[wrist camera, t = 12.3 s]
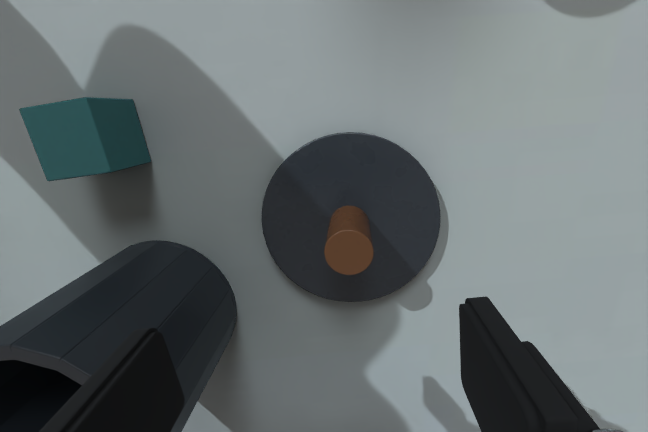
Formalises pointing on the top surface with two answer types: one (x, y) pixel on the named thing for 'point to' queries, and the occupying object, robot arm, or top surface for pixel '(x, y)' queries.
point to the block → (86, 136)
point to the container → (115, 329)
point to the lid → (351, 217)
